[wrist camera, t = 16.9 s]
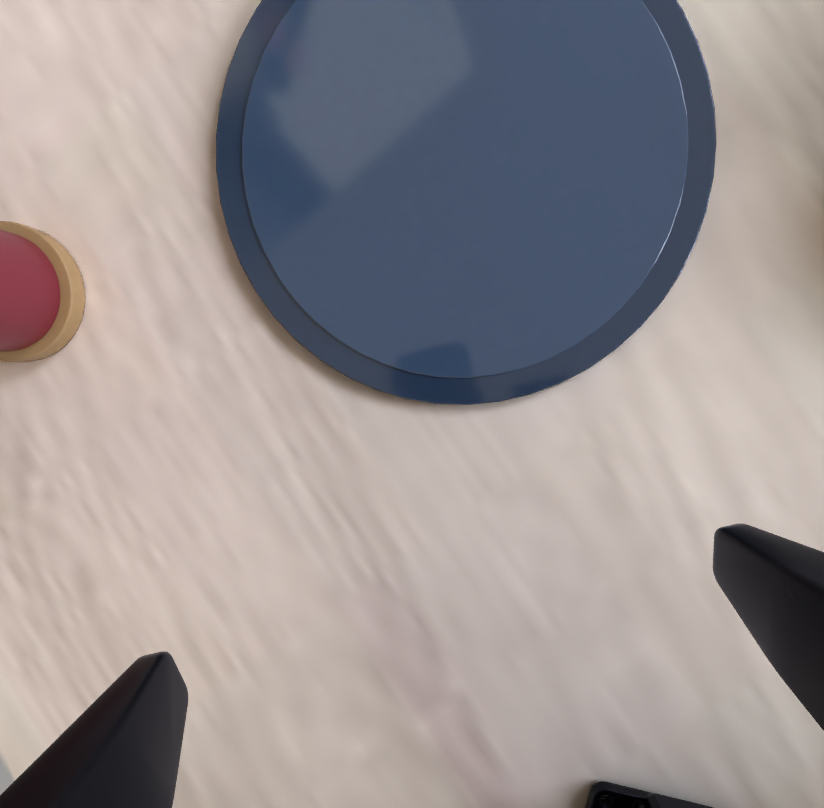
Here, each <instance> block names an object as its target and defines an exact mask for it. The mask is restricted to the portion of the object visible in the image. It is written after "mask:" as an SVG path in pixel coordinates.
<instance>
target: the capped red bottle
mask: <svg viewBox="0 0 824 808" xmlns="http://www.w3.org/2000/svg"><path fill="white" fill-rule="evenodd" d="M84 307H85V290H84V283H83V280H82V276H81V273H80V271H79V268H78V266H77V264H76V263H75V261H74V259H73V258H72V256H71V255H70V253H69V252H68V251H67V250H66V249H65V248H64V247H63V246H62V245H61V244H60V243H59V242H58V241H57V240H56V239H54V238H53V237H51V236H50V235H48V234H46V233H44V232H42V231H40V230H37V229H34V228H31V227H28V226H25V225H21V224H18V223H13V222H5V221H0V361H4V362H28V361H36V360H40V359H43V358H46V357H48V356H50V355H52V354H54V353H56V352H57V351H59V350H60V349H61V348H63V347H64V346H65V345H66V344H67V343H68V342H69V341H70V340H71V338H72V337H73V336H74V335H75V333H76V331H77V329H78V327H79V325H80V323H81V320H82V317H83V313H84Z"/></svg>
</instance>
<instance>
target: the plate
mask: <svg viewBox="0 0 824 808" xmlns="http://www.w3.org/2000/svg"><path fill="white" fill-rule="evenodd" d="M715 152H716V128H715V108H714V102H713V97H712V92H711V86H710V81H709V75H708V71H707V68H706V65H705V62H704V59H703V56H702V53H701V50H700V47H699V44H698V41H697V39H696V37H695V34H694V32H693V30H692V28H691V26H690V24H689V22H688V20H687V18H686V16H685V14H684V12H683V9H682V8H681V6H680V5H679V3H678V2H677V0H262V1H261V3H260V4H259V5H258V7H257V8H256V10H255V12H254V14H253V16H252V18H251V19H250V21H249V23H248V25H247V27H246V29H245V31H244V32H243V34H242V36H241V38H240V40H239V43H238V46H237V48H236V51H235V53H234V56H233V59H232V61H231V64H230V66H229V69H228V73H227V77H226V81H225V85H224V89H223V93H222V97H221V101H220V107H219V116H218V124H217V133H216V172H217V179H218V187H219V194H220V202H221V206H222V210H223V214H224V218H225V222H226V225H227V229H228V233H229V236H230V239H231V241H232V244H233V246H234V249H235V251H236V254H237V256H238V259H239V261H240V264H241V266H242V267H243V269H244V271H245V273H246V275H247V276H248V278H249V280H250V282H251V284H252V285H253V287H254V289H255V291H256V293H257V294H258V295H259V297H260V298H261V299H262V301H263V302H264V304H265V305H266V306H267V308H268V309H269V310H270V312H271V313H272V314H273V316H274V317H275V318H276V319H277V321H278V322H279V323H280V324H281V325H282V326H283V327H284V328H285V329H286V330H287V331H288V332H289V333H290V334H291V335H292V336H293V337H294V338H295V339H296V340H297V341H298V342H299V343H300V344H301V345H303V346H304V347H305V348H306V349H307V350H309V351H310V352H311V353H312V354H314V355H315V356H316V357H317V358H319V359H320V360H321V361H323V362H324V363H326V364H327V365H329V366H331V367H332V368H334V369H336V370H337V371H339V372H340V373H342V374H344V375H345V376H347V377H349V378H351V379H353V380H356V381H358V382H360V383H362V384H364V385H367V386H369V387H371V388H373V389H376V390H379V391H382V392H385V393H389V394H392V395H395V396H398V397H402V398H405V399H411V400H417V401H423V402H429V403H435V404H460V405H471V404H481V403H491V402H500V401H504V400H509V399H513V398H517V397H522V396H526V395H530V394H533V393H536V392H538V391H541V390H544V389H546V388H549V387H552V386H554V385H557V384H560V383H562V382H564V381H566V380H568V379H569V378H571V377H573V376H575V375H577V374H579V373H581V372H583V371H585V370H587V369H588V368H590V367H591V366H593V365H594V364H596V363H597V362H599V361H600V360H601V359H603V358H604V357H606V356H607V355H609V354H610V353H611V352H613V351H614V350H616V349H617V348H618V347H619V346H620V345H621V344H622V343H623V342H625V341H626V340H627V339H628V338H629V337H630V336H631V335H632V334H633V333H634V332H636V331H637V330H638V329H639V328H640V327H641V326H642V325H643V323H644V322H645V321H646V320H647V319H648V318H649V316H650V315H651V314H652V313H653V312H654V311H655V309H656V308H657V307H658V306H659V305H660V304H661V302H662V301H663V299H664V298H665V296H666V295H667V293H668V292H669V290H670V289H671V287H672V286H673V284H674V283H675V281H676V280H677V278H678V277H679V275H680V273H681V271H682V269H683V267H684V265H685V263H686V261H687V259H688V257H689V255H690V253H691V251H692V249H693V247H694V245H695V243H696V240H697V237H698V234H699V231H700V228H701V225H702V223H703V220H704V217H705V214H706V211H707V206H708V201H709V197H710V192H711V187H712V182H713V177H714V165H715Z"/></svg>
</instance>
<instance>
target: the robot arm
mask: <svg viewBox="0 0 824 808" xmlns="http://www.w3.org/2000/svg"><path fill="white" fill-rule="evenodd" d="M713 572H714V575H715V578H716V580H717V582H718V584H719V586H720V587H721V589H722V590H723V592H724V593H725V595H726V596H727V598H728V599H729V601H730V602H731V604H732V605H733V607H734V608H735V610H736V612H737V613H738V615H739V616H740V618H741V619H742V621H743V622H744V624H745V625H746V627H747V628H748V630H749V631H750V633H751V634H752V636H753V637H754V639H755V640H756V642H757V643H758V645H759V646H760V648H761V650H762V651H763V653H764V654H765V656H766V657H767V658H768V660H769V661H770V663H771V664H772V666H773V667H774V668H775V670H776V671H777V672H778V674H779V675H780V676H781V678H782V679H783V680H784V682H785V683H786V684H787V685H788V687H789V688H790V689H791V690H792V692H793V693H794V694H795V695H796V697H797V698H798V699H799V700H800V702H801V703H802V704H803V705H804V707H805V708H806V709H807V710H808V712H809V713H810V714H811V715H812V717H813V718H814V719H815V720H816V722H817V723H818V724H819V725H820V727H821V728H822V729H823V730H824V552H822V551H819V550H816V549H813V548H810V547H808V546H805V545H802V544H799V543H797V542H794V541H791V540H788V539H785V538H783V537H780V536H777V535H774V534H772V533H769V532H766V531H763V530H760V529H758V528H755V527H752V526H749V525H746V524H734V525H730V526H725V527H721V528H719V529H717V530H716V532H715V535H714V552H713ZM187 706H188V691H187V687H186V684H185V682H184V680H183V678H182V676H181V674H180V672H179V670H178V668H177V666H176V664H175V662H174V660H173V658H172V656H171V655H170V654H169V653H168V652H158V653H154V654H149V655H145V656H142V657H140V658H138V659H137V660H136V661H135V662H134V663H133V664H132V665H131V666H130V667H129V668H128V669H127V670H126V671H125V672H124V673H123V674H122V675H121V676H120V677H119V678H118V679H117V680H116V681H115V682H114V683H113V684H112V685H111V686H110V687H109V688H108V689H107V690H106V691H105V692H104V693H103V694H102V695H101V696H100V697H99V698H98V699H97V700H96V701H95V702H94V703H93V704H92V705H91V706H90V707H89V708H88V709H87V710H86V711H85V712H84V713H83V714H82V715H81V716H80V717H79V718H78V719H77V720H76V721H75V722H74V723H73V724H72V725H71V726H70V727H69V728H68V729H67V730H66V731H65V732H64V733H63V734H62V735H61V736H60V737H59V738H58V739H57V740H56V741H55V742H54V743H53V744H52V745H51V746H50V747H49V748H48V749H47V750H46V751H45V752H44V753H43V754H42V755H41V756H40V757H39V758H38V759H37V760H35V761H34V762H33V763H32V764H31V765H30V766H29V767H28V768H27V769H26V770H25V771H24V772H23V773H22V774H21V775H20V776H19V777H18V778H17V779H16V780H15V781H14V782H13V783H12V784H11V785H10V786H9V787H8V788H7V789H6V790H5V791H4V792H3V793H2V794H1V795H0V808H172V805H173V799H174V793H175V787H176V780H177V774H178V767H179V760H180V753H181V747H182V740H183V733H184V726H185V720H186V713H187ZM604 795H608V797H607V798H605V799H601V797H602V796H604ZM585 808H713V807H709V806H705V805H701V804H697V803H693V802H689V801H685V800H680V799H676V798H672V797H668V796H664V795H660V794H656V793H650V792H646V791H642V790H638V789H634V788H629V787H625V786H621V785H617V784H613V783H609V782H598V783H596V784H594V785H593V786H592V788H591V790H590V793H589V797H588V800H587V804H586V807H585Z"/></svg>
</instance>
